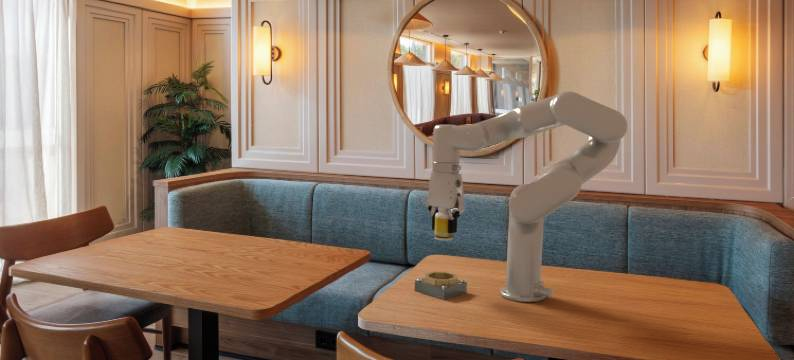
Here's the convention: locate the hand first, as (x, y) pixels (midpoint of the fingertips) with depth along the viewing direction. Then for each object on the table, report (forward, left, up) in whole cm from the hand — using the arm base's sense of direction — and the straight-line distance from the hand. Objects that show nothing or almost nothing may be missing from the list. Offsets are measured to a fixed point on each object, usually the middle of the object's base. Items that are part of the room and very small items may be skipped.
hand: (444, 230), depth 170 cm
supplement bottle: (0, 0, -3) cm, 3 cm away
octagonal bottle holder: (-1, +2, -17) cm, 17 cm away
